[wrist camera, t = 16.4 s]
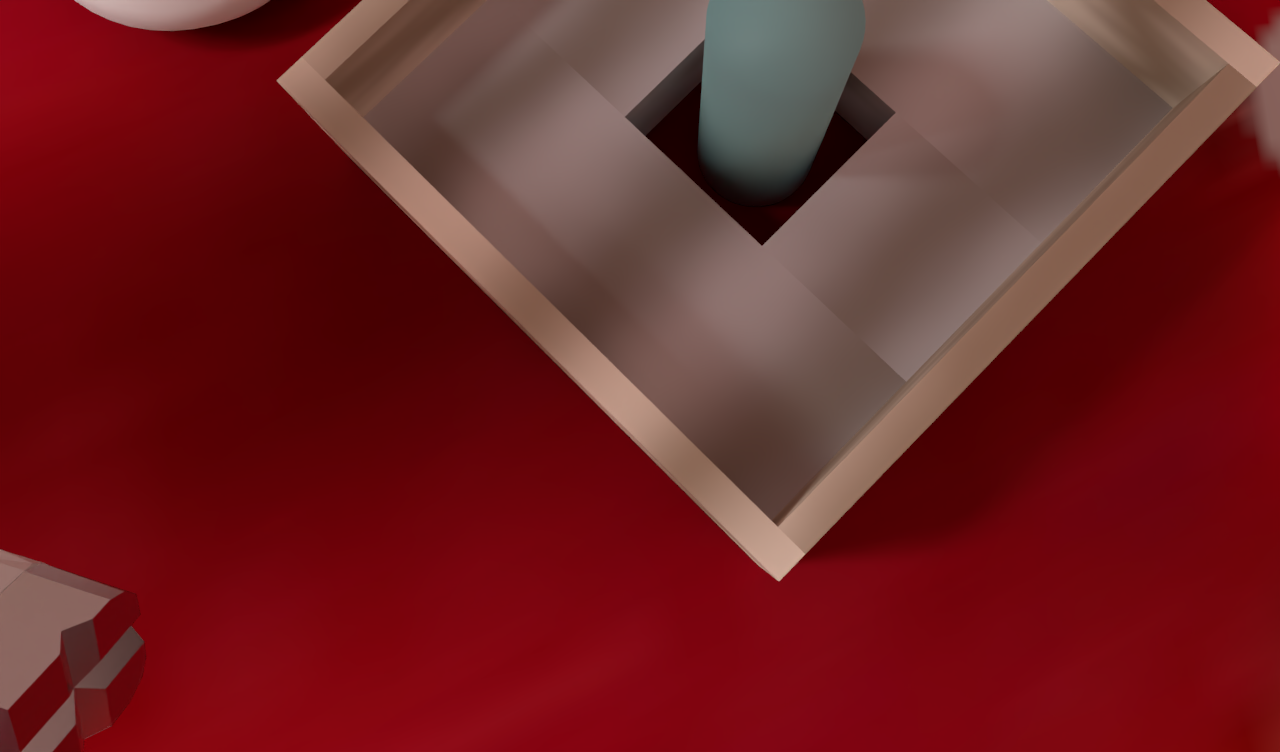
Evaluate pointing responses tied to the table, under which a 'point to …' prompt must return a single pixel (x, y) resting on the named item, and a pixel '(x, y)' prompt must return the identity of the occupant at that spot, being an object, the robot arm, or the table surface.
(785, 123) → the peg
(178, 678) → the table surface
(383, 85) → the bore box
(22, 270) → the table surface
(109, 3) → the flower in vase
